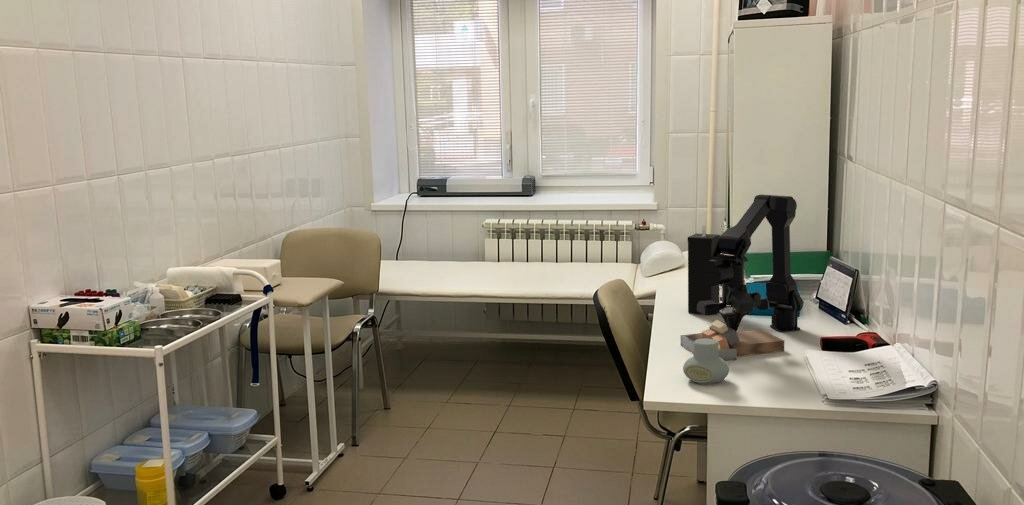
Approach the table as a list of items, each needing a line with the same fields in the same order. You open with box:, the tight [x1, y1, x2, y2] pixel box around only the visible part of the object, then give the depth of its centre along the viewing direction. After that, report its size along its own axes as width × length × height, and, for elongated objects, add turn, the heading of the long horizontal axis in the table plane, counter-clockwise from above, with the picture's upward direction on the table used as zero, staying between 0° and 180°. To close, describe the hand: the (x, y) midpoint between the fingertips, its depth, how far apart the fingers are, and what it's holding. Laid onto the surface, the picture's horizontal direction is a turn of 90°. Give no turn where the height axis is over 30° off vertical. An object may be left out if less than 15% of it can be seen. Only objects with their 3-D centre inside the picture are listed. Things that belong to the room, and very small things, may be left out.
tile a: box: [701, 328, 717, 339], centre depth 234 cm, size 4×4×2 cm
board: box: [729, 328, 785, 357], centre depth 234 cm, size 15×12×3 cm
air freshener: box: [682, 338, 730, 386], centre depth 208 cm, size 11×8×10 cm
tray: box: [680, 332, 738, 362], centre depth 231 cm, size 8×17×3 cm, turn 13°
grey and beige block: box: [708, 319, 740, 346], centre depth 231 cm, size 3×10×5 cm, turn 13°
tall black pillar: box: [687, 225, 721, 315], centre depth 272 cm, size 8×8×28 cm
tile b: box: [711, 334, 730, 350], centre depth 229 cm, size 4×4×2 cm
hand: (732, 336), depth 232 cm, fingers closed
